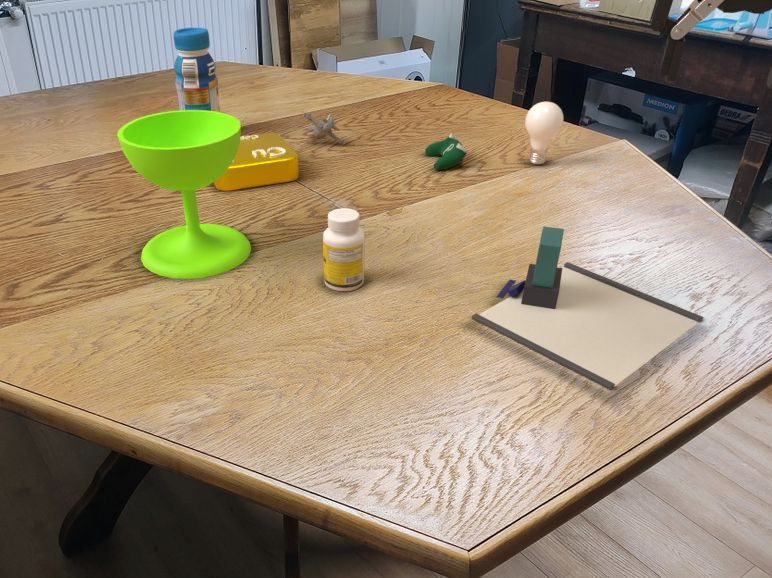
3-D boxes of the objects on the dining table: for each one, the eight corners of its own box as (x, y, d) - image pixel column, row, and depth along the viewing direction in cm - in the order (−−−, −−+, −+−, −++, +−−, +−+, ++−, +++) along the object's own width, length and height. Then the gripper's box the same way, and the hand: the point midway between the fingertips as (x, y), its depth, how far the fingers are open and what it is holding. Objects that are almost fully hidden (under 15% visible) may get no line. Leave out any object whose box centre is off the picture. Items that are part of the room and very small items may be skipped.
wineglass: (273, 249, 99) (266, 125, 89) (185, 291, 90) (165, 159, 80) (205, 218, 109) (191, 103, 98) (119, 253, 100) (93, 130, 89)
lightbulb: (553, 159, 125) (565, 97, 119) (555, 172, 120) (568, 108, 114) (518, 157, 127) (527, 96, 120) (518, 169, 122) (528, 106, 115)
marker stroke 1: (514, 288, 89) (508, 287, 89) (515, 280, 88) (509, 279, 88) (501, 306, 85) (495, 304, 86) (502, 298, 85) (496, 296, 85)
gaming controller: (446, 181, 123) (472, 157, 121) (433, 167, 121) (459, 142, 119) (435, 162, 130) (459, 140, 128) (422, 149, 129) (446, 126, 126)
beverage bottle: (174, 134, 143) (159, 31, 131) (207, 125, 147) (196, 24, 135) (197, 144, 137) (184, 37, 126) (231, 134, 142) (221, 29, 130)
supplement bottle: (332, 269, 94) (331, 203, 88) (369, 276, 92) (371, 208, 87) (317, 288, 90) (316, 220, 84) (356, 295, 88) (357, 226, 83)
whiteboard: (565, 272, 92) (567, 261, 91) (699, 328, 80) (703, 316, 79) (470, 326, 82) (471, 315, 81) (607, 399, 70) (611, 387, 69)
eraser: (555, 309, 82) (568, 250, 78) (521, 304, 83) (531, 245, 79) (558, 285, 87) (571, 227, 82) (526, 280, 88) (536, 223, 83)
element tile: (278, 153, 132) (277, 128, 129) (302, 180, 120) (301, 154, 117) (202, 163, 128) (199, 138, 126) (218, 193, 117) (215, 166, 114)
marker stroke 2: (518, 289, 89) (515, 283, 89) (527, 285, 88) (524, 280, 88) (509, 297, 84) (507, 291, 84) (519, 293, 84) (516, 287, 84)
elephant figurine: (340, 133, 141) (356, 130, 132) (325, 158, 141) (340, 156, 133) (301, 104, 137) (316, 98, 129) (286, 129, 137) (299, 126, 129)
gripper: (879, -133, 55) (799, 78, 64) (683, -129, 59) (636, 69, 68) (908, -131, 49) (816, 100, 59) (689, -126, 53) (637, 89, 63)
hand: (719, 83), depth 63 cm, fingers open, 8 cm apart
